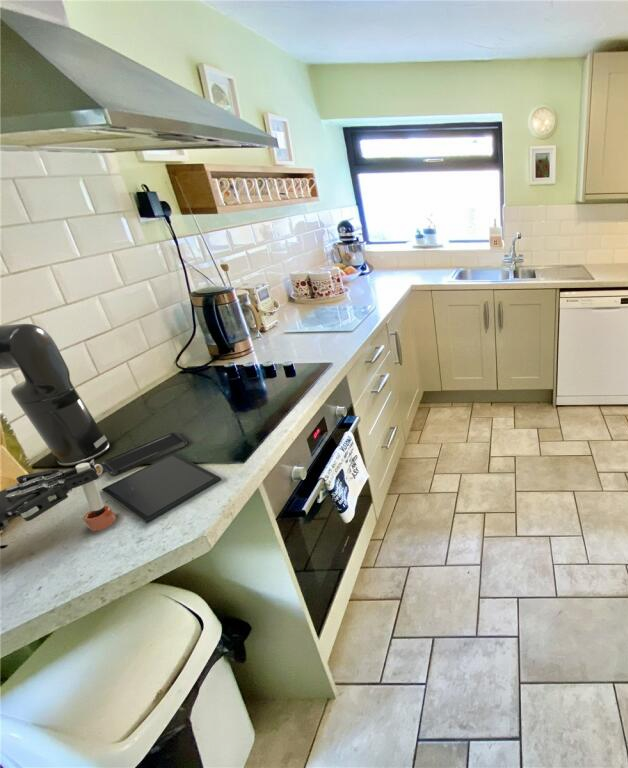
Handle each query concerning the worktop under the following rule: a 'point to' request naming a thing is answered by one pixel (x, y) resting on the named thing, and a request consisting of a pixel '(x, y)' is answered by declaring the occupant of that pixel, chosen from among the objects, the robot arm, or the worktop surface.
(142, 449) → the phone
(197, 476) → the tablet
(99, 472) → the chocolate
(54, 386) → the robot arm
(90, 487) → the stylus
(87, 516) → the orange hollow cylinder
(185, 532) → the worktop surface
